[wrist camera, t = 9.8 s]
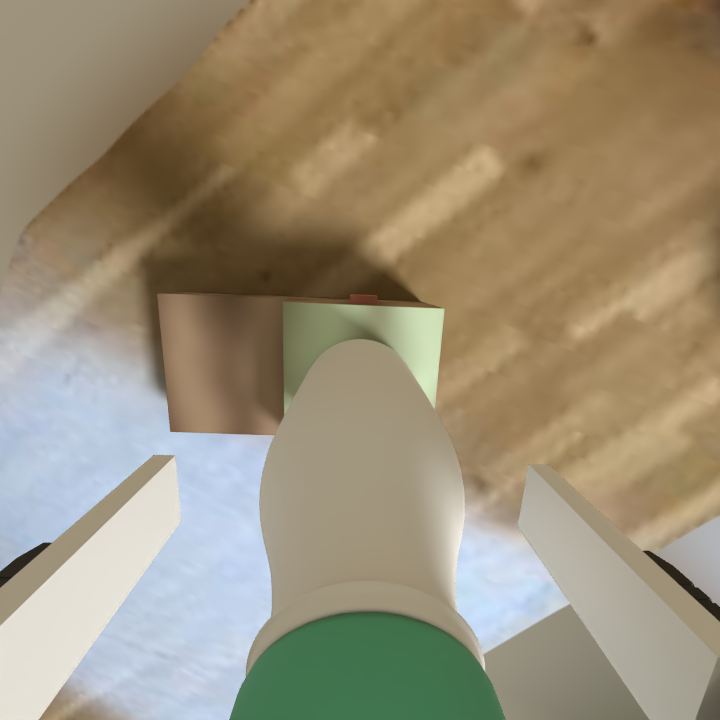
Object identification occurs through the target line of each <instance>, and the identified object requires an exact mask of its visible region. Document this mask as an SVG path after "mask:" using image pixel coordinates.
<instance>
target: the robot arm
mask: <svg viewBox="0 0 720 720" xmlns="http://www.w3.org/2000/svg"><path fill="white" fill-rule="evenodd" d="M180 522H181V512H180V502H179V491H178V480H177V469H176V458H175V456H173V455H153V456H152V457H151V458H150V459H149V460H148V461H146V462H145V463H144V464H143V465H142V466H141V467H139V468H138V469H137V470H136V471H135V472H134V473H133V474H131V475H130V476H129V477H128V478H127V479H126V480H124V481H123V482H122V483H121V484H120V485H119V486H118V487H116V488H115V489H114V490H113V491H112V492H111V493H109V494H108V495H107V496H106V497H105V498H104V499H102V500H101V501H100V502H99V503H98V504H97V505H96V506H94V507H93V508H92V509H91V510H90V511H89V512H87V513H86V514H85V515H84V516H83V517H82V518H81V519H79V520H78V521H77V522H76V523H75V524H74V525H72V526H71V527H70V528H69V529H68V530H67V531H65V532H64V533H63V534H62V535H61V536H60V537H59V538H57V539H56V540H55V541H54V542H53V543H42V544H41V545H39V546H37V547H35V548H34V549H32V550H30V551H28V552H27V553H25V554H23V555H21V556H20V557H18V558H16V559H15V560H14V561H13V562H11V563H10V564H9V565H8V566H7V567H5V568H4V569H3V570H2V571H0V720H39V718H40V717H41V715H42V714H43V713H44V711H45V710H46V709H47V707H48V706H49V704H50V703H51V702H52V700H53V699H54V697H55V696H56V695H57V693H58V692H59V690H60V689H61V688H62V686H63V685H64V683H65V682H66V681H67V679H68V678H69V677H70V675H71V674H72V672H73V671H74V670H75V668H76V667H77V665H78V664H79V663H80V661H81V660H82V658H83V657H84V656H85V654H86V653H87V651H88V650H89V649H90V647H91V646H92V645H93V643H94V642H95V640H96V639H97V638H98V636H99V635H100V633H101V632H102V631H103V629H104V628H105V626H106V625H107V624H108V622H109V621H110V619H111V618H112V617H113V615H114V614H115V613H116V611H117V610H118V608H119V607H120V606H121V604H122V603H123V601H124V600H125V599H126V597H127V596H128V594H129V593H130V592H131V590H132V589H133V587H134V586H135V585H136V583H137V582H138V581H139V579H140V578H141V576H142V575H143V574H144V572H145V571H146V569H147V568H148V567H149V565H150V564H151V562H152V561H153V560H154V558H155V557H156V555H157V554H158V553H159V551H160V550H161V549H162V547H163V546H164V544H165V543H166V542H167V540H168V539H169V537H170V536H171V535H172V533H173V532H174V530H175V529H176V528H177V526H178V525H179V523H180ZM518 528H519V529H520V531H521V532H522V534H523V535H524V537H525V538H526V540H527V541H528V543H529V544H530V545H531V547H532V548H533V550H534V551H535V553H536V554H537V556H538V557H539V559H540V560H541V562H542V563H543V564H544V566H545V567H546V569H547V570H548V572H549V573H550V575H551V576H552V578H553V579H554V581H555V582H556V584H557V585H558V586H559V588H560V589H561V591H562V592H563V594H564V595H565V597H566V598H567V600H568V601H569V603H570V604H571V605H572V607H573V608H574V610H575V611H576V613H577V614H578V616H579V617H580V619H581V620H582V621H583V623H584V624H585V626H586V627H587V629H588V630H589V632H590V633H591V635H592V636H593V638H594V639H595V640H596V642H597V643H598V645H599V646H600V648H601V649H602V651H603V652H604V654H605V655H606V657H607V658H608V660H609V661H610V662H611V664H612V665H613V667H614V668H615V670H616V671H617V673H618V674H619V676H620V677H621V679H622V680H623V681H624V683H625V684H626V686H627V687H628V689H629V690H630V692H631V693H632V695H633V696H634V698H635V699H636V700H637V702H638V703H639V705H640V706H641V708H642V709H643V711H644V712H645V714H646V715H647V717H648V718H649V719H650V720H720V607H719V606H718V605H717V604H716V603H712V601H711V599H710V598H709V597H708V596H707V595H706V594H705V593H703V592H702V591H701V590H700V589H699V588H696V587H694V584H693V583H692V582H691V581H690V580H689V579H688V578H686V577H685V576H684V575H683V574H682V573H680V571H678V570H677V569H676V568H675V567H674V566H673V565H671V564H669V563H668V562H666V561H665V560H663V559H661V558H660V557H658V556H656V555H655V554H653V553H652V552H650V551H642V550H641V549H640V548H639V547H638V546H637V545H635V544H634V543H633V542H632V541H631V540H630V539H629V538H628V537H627V536H626V535H625V534H623V533H622V532H621V531H620V530H619V529H618V528H617V527H616V526H615V525H614V524H613V523H611V522H610V521H609V520H608V519H607V518H606V517H605V516H604V515H603V514H602V513H601V512H600V511H598V510H597V509H596V508H595V507H594V506H593V505H592V504H591V503H590V502H589V501H588V500H586V499H585V498H584V497H583V496H582V495H581V494H580V493H579V492H578V491H577V490H576V489H574V488H573V487H572V486H571V485H570V484H569V483H568V482H567V481H566V480H565V479H564V478H562V477H561V476H560V475H559V474H558V473H557V472H556V471H555V470H554V469H553V468H552V467H551V466H549V465H544V464H529V465H528V470H527V476H526V482H525V488H524V494H523V500H522V506H521V511H520V517H519V523H518Z"/></svg>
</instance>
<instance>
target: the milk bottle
mask: <svg viewBox="0 0 720 720" xmlns="http://www.w3.org/2000/svg"><path fill="white" fill-rule="evenodd" d="M259 505H260V522H261V528H262V534H263V539H264V544H265V548H266V552H267V556H268V561H269V566H270V572H271V582H272V613H271V618H270V619H269V620H268V621H267V622H266V623H265V624H264V626H263V627H262V628H261V630H260V631H259V633H258V635H257V636H256V638H255V640H254V642H253V644H252V646H251V649H250V652H249V655H248V659H247V665H246V678H245V680H244V682H243V684H242V686H241V688H240V690H239V693H238V695H237V698H236V701H235V704H234V707H233V710H232V713H231V716H230V719H229V720H506V719H505V716H504V714H503V711H502V708H501V706H500V703H499V700H498V698H497V695H496V692H495V690H494V687H493V685H492V683H491V681H490V679H489V678H488V676H487V674H486V673H485V663H484V657H483V653H482V649H481V646H480V644H479V642H478V639H477V637H476V636H475V634H474V632H473V631H472V629H471V628H470V626H469V625H468V624H467V622H466V621H465V620H464V619H463V618H462V617H461V616H460V615H459V614H458V613H457V605H456V566H457V558H458V553H459V547H460V542H461V537H462V531H463V524H464V513H465V506H464V488H463V481H462V475H461V470H460V466H459V463H458V459H457V456H456V453H455V450H454V447H453V445H452V442H451V440H450V438H449V436H448V434H447V432H446V430H445V428H444V426H443V424H442V422H441V420H440V418H439V416H438V415H437V413H436V411H435V410H434V408H433V406H432V404H431V403H430V401H429V399H428V398H427V396H426V394H425V392H424V391H423V389H422V388H421V386H420V384H419V383H418V381H417V379H416V378H415V376H414V375H413V373H412V371H411V370H410V368H409V367H408V365H407V364H406V363H405V361H404V360H403V359H402V358H401V357H400V356H399V355H398V354H397V353H396V352H395V351H394V350H393V349H391V348H389V347H388V346H386V345H384V344H382V343H379V342H376V341H372V340H367V339H353V340H347V341H344V342H340V343H338V344H336V345H334V346H332V347H330V348H329V349H327V350H326V351H325V352H323V353H322V354H321V355H320V356H319V357H318V358H317V360H316V361H315V362H314V364H313V365H312V366H311V368H310V370H309V371H308V373H307V375H306V377H305V378H304V380H303V382H302V384H301V385H300V387H299V389H298V391H297V393H296V394H295V396H294V398H293V400H292V402H291V404H290V406H289V408H288V410H287V411H286V413H285V415H284V417H283V419H282V421H281V423H280V425H279V427H278V429H277V432H276V434H275V436H274V438H273V441H272V443H271V445H270V448H269V451H268V454H267V457H266V461H265V465H264V469H263V473H262V478H261V486H260V501H259Z"/></svg>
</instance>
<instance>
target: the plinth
mask: <svg viewBox="0 0 720 720" xmlns="http://www.w3.org/2000/svg"><path fill="white" fill-rule="evenodd" d="M157 299H158V309H159V320H160V330H161V340H162V350H163V361H164V371H165V381H166V391H167V402H168V412H169V422H170V432H192V433H222V434H252V435H275V434H276V432H277V429H278V427H279V425H280V423H281V421H282V419H283V417H284V415H285V413H286V411H287V410H288V408H289V406H290V404H291V402H292V400H293V398H294V396H295V394H296V393H297V391H298V389H299V387H300V385H301V384H302V382H303V380H304V378H305V377H306V375H307V373H308V371H309V370H310V368H311V366H312V365H313V364H314V362H315V361H316V360H317V358H318V357H319V356H320V355H321V354H322V353H323V352H325V351H326V350H327V349H329V348H330V347H332V346H334V345H336V344H338V343H340V342H344V341H347V340H353V339H367V340H372V341H376V342H379V343H382V344H384V345H386V346H388V347H389V348H391V349H393V350H394V351H395V352H396V353H397V354H398V355H399V356H400V357H401V358H402V359H403V360H404V361H405V363H406V364H407V365H408V367H409V368H410V370H411V371H412V373H413V375H414V376H415V378H416V379H417V381H418V383H419V384H420V386H421V388H422V389H423V391H424V392H425V394H426V396H427V398H428V399H429V401H430V403H431V404H432V406H433V408H434V410H435V400H436V389H437V379H438V369H439V359H440V349H441V338H442V328H443V318H444V308H440V307H437V306H434V305H430V304H427V303H424V302H416V301H391V300H378V296H377V295H359V294H350V299H343V298H318V297H294V296H269V295H245V294H221V293H196V292H173V293H157Z"/></svg>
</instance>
